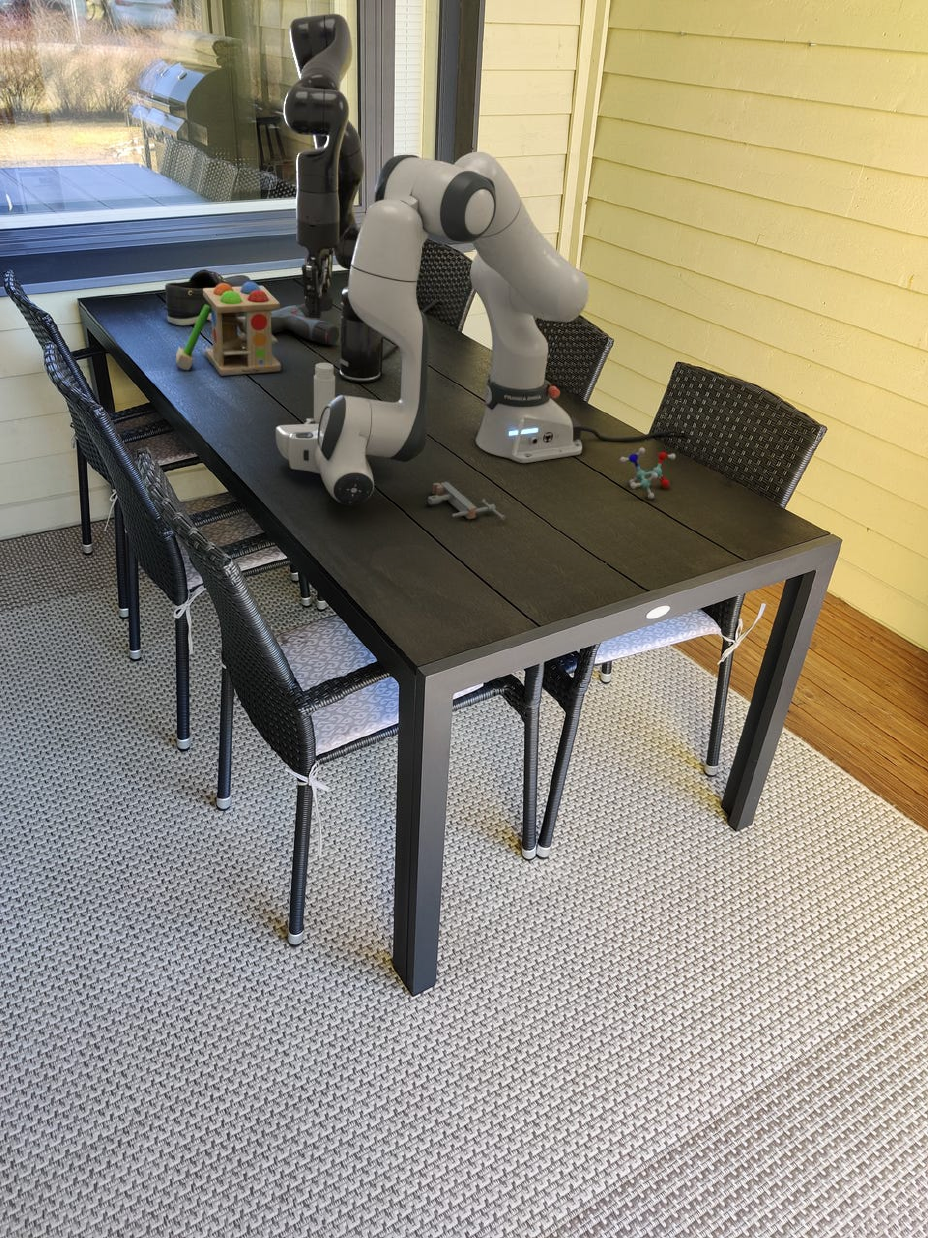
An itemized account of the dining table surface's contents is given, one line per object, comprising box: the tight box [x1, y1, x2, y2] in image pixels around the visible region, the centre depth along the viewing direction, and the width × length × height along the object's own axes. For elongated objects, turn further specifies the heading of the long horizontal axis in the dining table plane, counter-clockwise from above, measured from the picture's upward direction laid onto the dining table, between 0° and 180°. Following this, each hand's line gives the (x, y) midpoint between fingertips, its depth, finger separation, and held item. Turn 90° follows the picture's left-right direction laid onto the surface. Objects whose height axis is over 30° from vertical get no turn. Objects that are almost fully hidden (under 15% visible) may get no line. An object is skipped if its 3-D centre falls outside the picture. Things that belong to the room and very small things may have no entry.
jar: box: [313, 362, 336, 424], centre depth 190 cm, size 4×4×18 cm
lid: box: [304, 291, 333, 313], centre depth 180 cm, size 5×5×2 cm
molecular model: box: [619, 447, 676, 500], centre depth 192 cm, size 12×10×10 cm
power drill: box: [271, 302, 340, 346], centre depth 252 cm, size 5×19×20 cm
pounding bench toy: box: [174, 281, 282, 377], centre depth 225 cm, size 23×14×18 cm, turn 116°
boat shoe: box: [164, 269, 253, 326], centre depth 260 cm, size 13×33×10 cm, turn 147°
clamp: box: [427, 481, 506, 521], centre depth 180 cm, size 15×2×10 cm
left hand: (318, 312), depth 182 cm, fingers closed on lid, 4 cm apart
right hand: (323, 421), depth 192 cm, fingers closed on jar, 4 cm apart
